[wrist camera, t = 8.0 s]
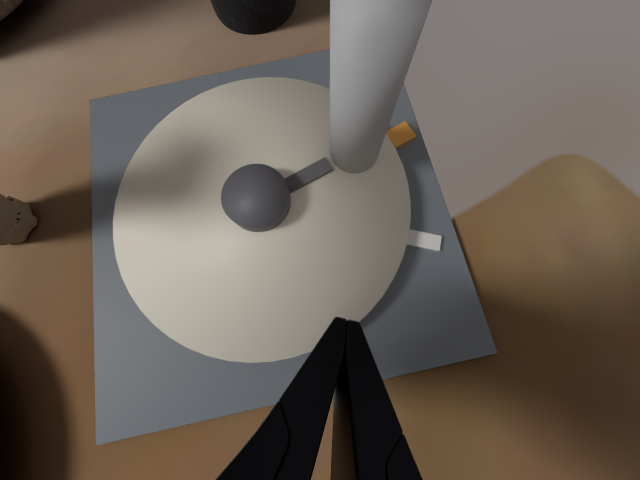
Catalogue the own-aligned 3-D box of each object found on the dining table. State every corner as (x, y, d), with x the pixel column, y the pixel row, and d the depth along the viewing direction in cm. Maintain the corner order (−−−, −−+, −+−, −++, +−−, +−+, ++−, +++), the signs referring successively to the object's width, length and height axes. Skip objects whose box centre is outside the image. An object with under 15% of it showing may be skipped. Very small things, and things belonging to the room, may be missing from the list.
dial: (190, 423, 14) (-97, 687, 5) (88, 162, 18) (-185, 11, 9) (465, 258, 16) (681, 198, 6) (316, 49, 20) (304, -190, 10)
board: (493, 351, 15) (501, 354, 15) (102, 441, 15) (91, 448, 14) (386, 41, 21) (387, 33, 20) (94, 103, 20) (86, 97, 20)
